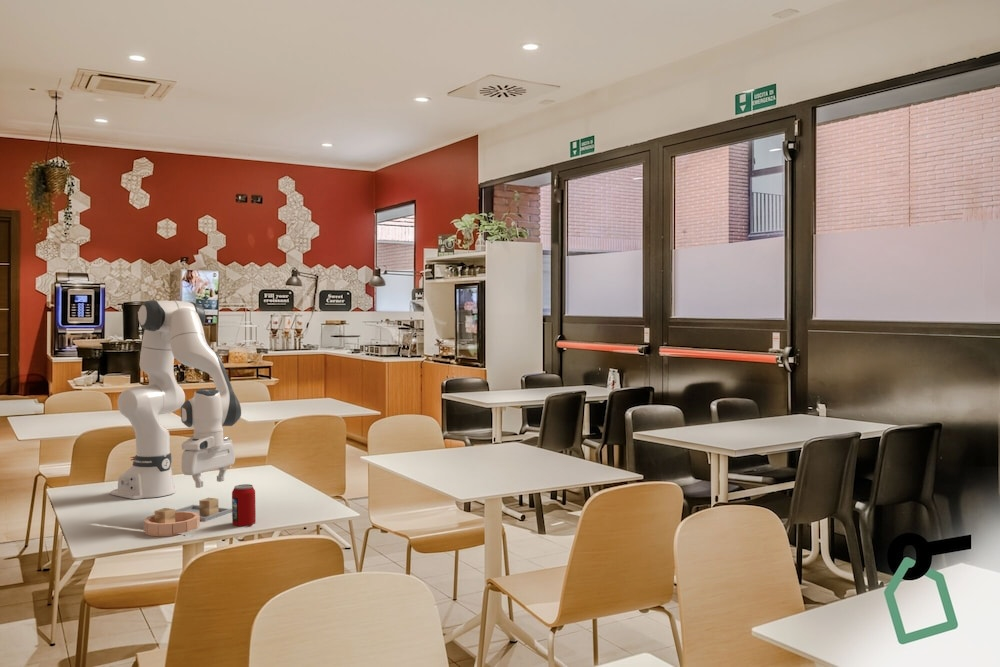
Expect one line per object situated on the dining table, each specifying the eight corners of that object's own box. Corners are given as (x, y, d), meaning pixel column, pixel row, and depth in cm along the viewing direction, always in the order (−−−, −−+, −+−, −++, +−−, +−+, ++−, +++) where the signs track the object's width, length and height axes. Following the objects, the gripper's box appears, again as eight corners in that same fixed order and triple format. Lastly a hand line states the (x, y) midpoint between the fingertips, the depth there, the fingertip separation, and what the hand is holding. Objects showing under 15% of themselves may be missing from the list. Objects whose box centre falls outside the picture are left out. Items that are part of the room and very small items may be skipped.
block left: (154, 527, 241) (154, 511, 241) (165, 524, 245) (164, 507, 245) (165, 529, 240) (164, 512, 240) (175, 525, 243) (175, 509, 243)
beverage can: (235, 522, 249) (234, 484, 248) (257, 522, 249) (257, 483, 249) (229, 528, 242) (229, 488, 242) (253, 528, 242) (252, 488, 242)
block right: (199, 516, 255) (199, 500, 254) (208, 513, 258) (208, 497, 258) (209, 517, 253) (209, 501, 253) (218, 514, 257) (218, 498, 257)
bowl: (133, 533, 237) (133, 521, 237) (171, 521, 251) (171, 509, 251) (172, 538, 232) (172, 526, 231) (209, 525, 245) (209, 513, 245)
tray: (165, 518, 255) (165, 513, 255) (193, 509, 266) (193, 504, 266) (205, 523, 249) (205, 517, 249) (232, 513, 260) (232, 508, 260)
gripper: (223, 435, 266) (224, 477, 266) (177, 445, 247) (178, 490, 247) (239, 436, 263) (240, 478, 264) (193, 445, 244) (195, 491, 245)
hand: (210, 484), depth 255 cm, fingers open, 8 cm apart
